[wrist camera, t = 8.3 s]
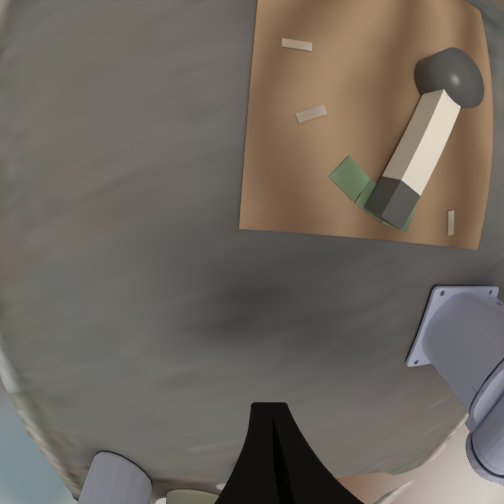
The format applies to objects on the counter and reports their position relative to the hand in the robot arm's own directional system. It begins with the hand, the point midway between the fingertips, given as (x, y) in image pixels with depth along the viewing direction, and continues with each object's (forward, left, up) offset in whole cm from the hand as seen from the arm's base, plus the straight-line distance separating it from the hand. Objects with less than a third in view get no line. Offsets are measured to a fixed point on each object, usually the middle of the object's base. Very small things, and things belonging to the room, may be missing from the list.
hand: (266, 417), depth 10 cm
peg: (-9, -13, -9) cm, 18 cm away
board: (-8, -17, -10) cm, 21 cm away
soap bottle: (+16, +30, -10) cm, 36 cm away
